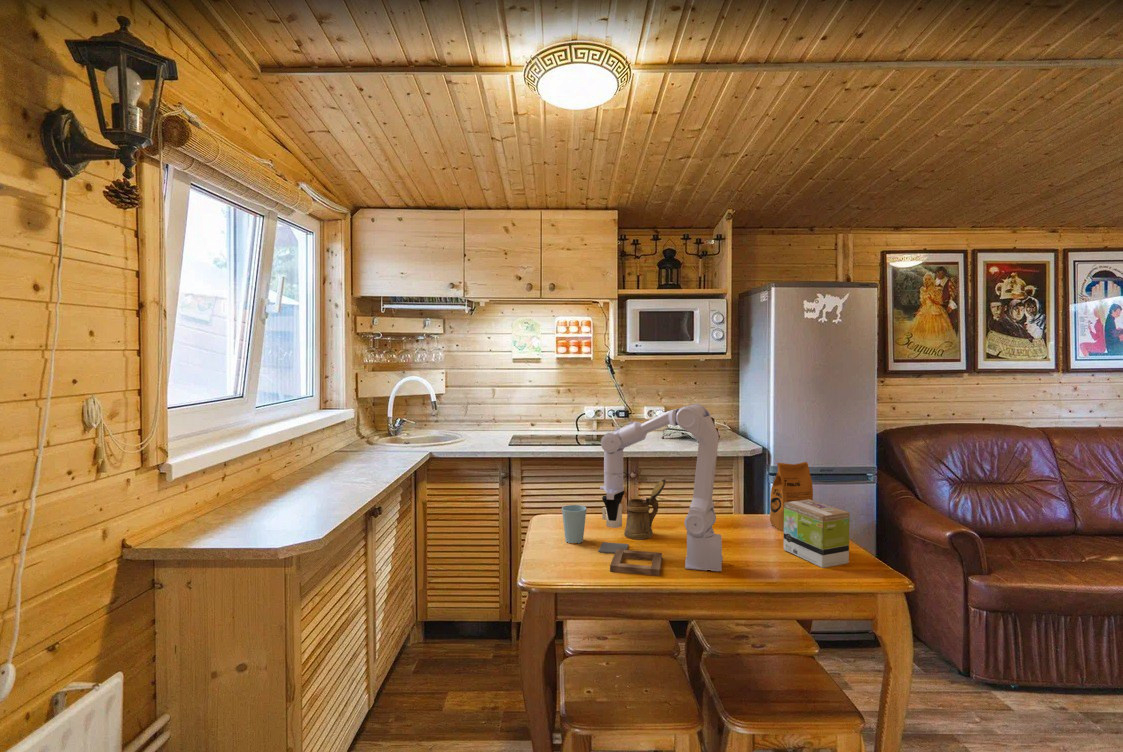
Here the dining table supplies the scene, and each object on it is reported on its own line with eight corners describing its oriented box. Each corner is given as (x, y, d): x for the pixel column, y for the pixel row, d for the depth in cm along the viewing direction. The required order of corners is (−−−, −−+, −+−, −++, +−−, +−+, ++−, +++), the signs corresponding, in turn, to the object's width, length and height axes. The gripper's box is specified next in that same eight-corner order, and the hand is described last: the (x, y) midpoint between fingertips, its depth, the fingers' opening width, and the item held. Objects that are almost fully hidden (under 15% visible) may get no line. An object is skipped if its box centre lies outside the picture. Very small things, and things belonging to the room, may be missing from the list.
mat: (628, 545, 167) (628, 544, 167) (625, 554, 160) (625, 553, 160) (602, 543, 169) (602, 542, 169) (598, 552, 162) (598, 550, 162)
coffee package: (766, 523, 190) (766, 460, 189) (801, 522, 191) (801, 459, 190) (779, 532, 180) (780, 465, 179) (816, 531, 181) (817, 464, 180)
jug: (623, 524, 166) (623, 502, 166) (619, 528, 161) (619, 506, 161) (604, 522, 167) (604, 501, 167) (600, 526, 163) (600, 504, 163)
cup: (576, 546, 166) (576, 512, 166) (556, 541, 171) (556, 508, 171) (591, 540, 172) (591, 507, 172) (571, 535, 177) (571, 503, 177)
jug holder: (662, 558, 157) (662, 552, 157) (659, 575, 144) (659, 569, 144) (616, 554, 160) (616, 549, 160) (609, 571, 147) (609, 565, 147)
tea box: (781, 550, 163) (782, 501, 162) (808, 546, 166) (809, 498, 166) (822, 569, 149) (823, 514, 148) (850, 564, 152) (851, 511, 152)
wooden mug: (669, 538, 174) (669, 482, 173) (627, 540, 173) (627, 483, 172) (661, 530, 183) (662, 476, 182) (621, 531, 182) (621, 477, 181)
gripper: (604, 467, 172) (604, 510, 172) (596, 476, 158) (596, 524, 158) (626, 468, 170) (626, 511, 171) (620, 478, 156) (620, 525, 156)
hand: (613, 517), depth 164 cm, fingers closed on jug, 5 cm apart
